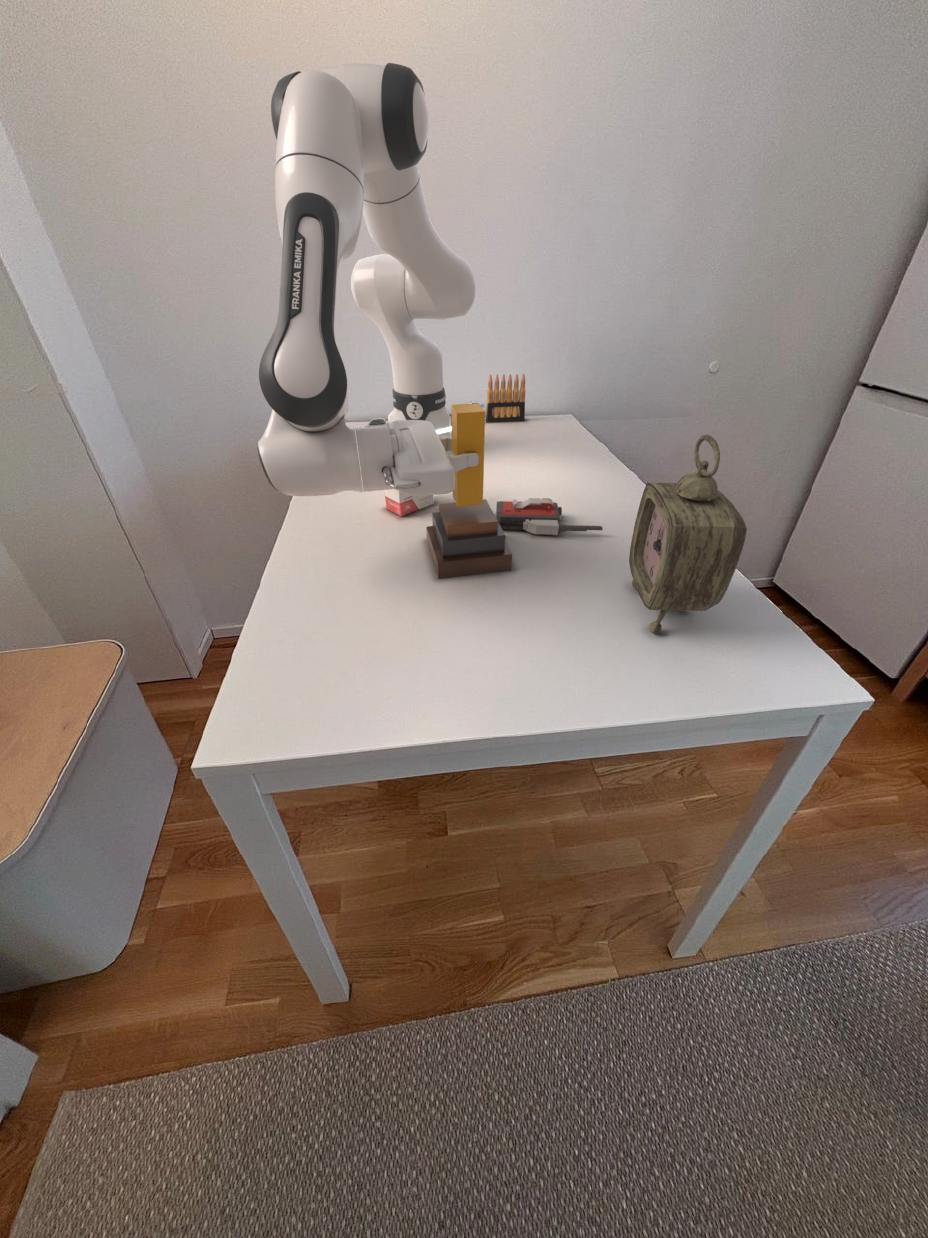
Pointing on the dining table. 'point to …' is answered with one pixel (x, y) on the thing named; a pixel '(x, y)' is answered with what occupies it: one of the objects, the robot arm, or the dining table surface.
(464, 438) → the bar
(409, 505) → the ink cartridge box
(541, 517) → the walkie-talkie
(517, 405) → the ammunition clip
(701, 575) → the tabletop clock
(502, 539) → the stacked square slabs
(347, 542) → the dining table surface
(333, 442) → the robot arm
